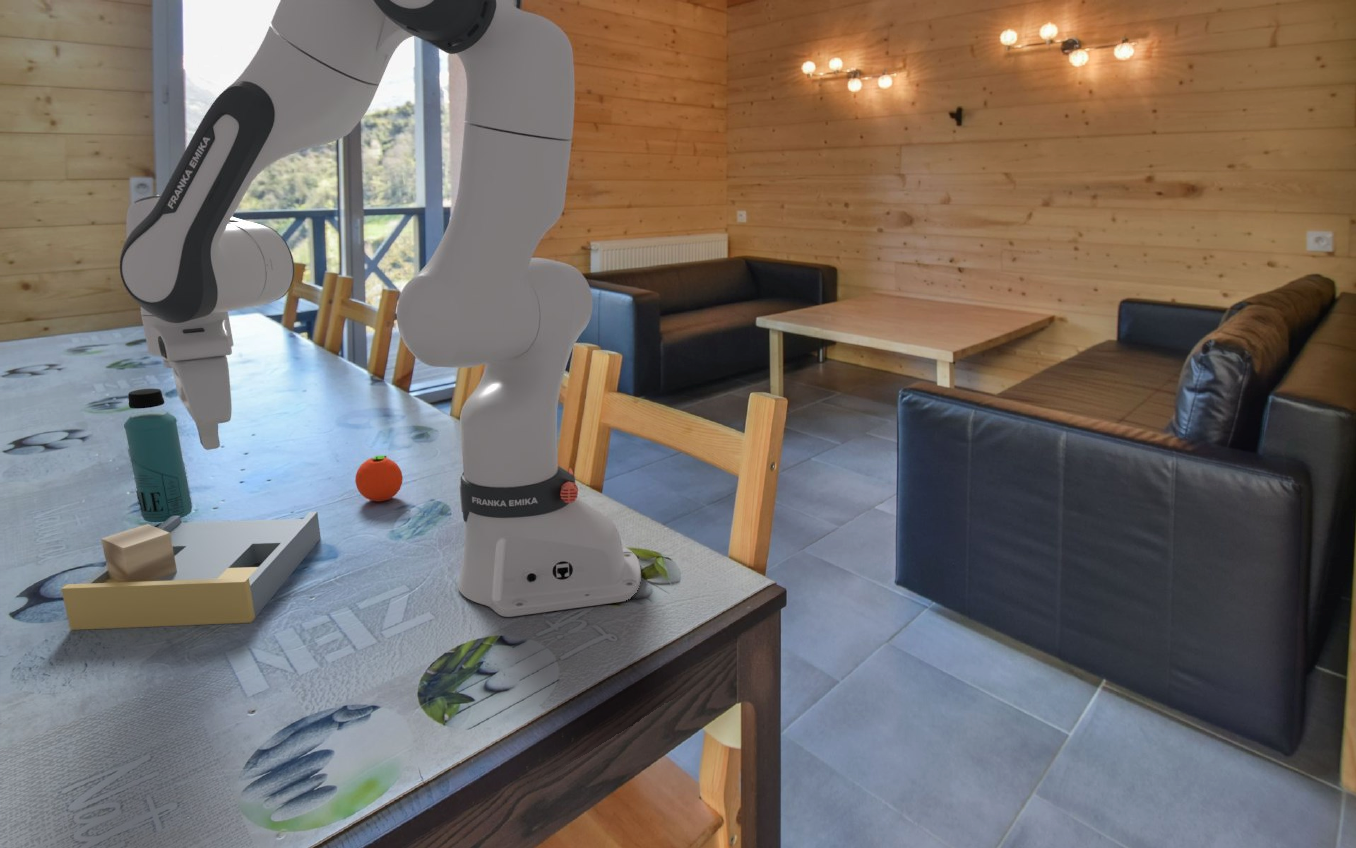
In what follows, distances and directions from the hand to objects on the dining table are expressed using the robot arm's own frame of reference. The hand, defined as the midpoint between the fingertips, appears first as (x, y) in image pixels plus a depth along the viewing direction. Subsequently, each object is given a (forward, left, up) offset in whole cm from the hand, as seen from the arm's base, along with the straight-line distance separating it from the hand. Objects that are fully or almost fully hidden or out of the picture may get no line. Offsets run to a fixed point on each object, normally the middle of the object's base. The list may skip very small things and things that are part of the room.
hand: (210, 446), depth 99 cm
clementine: (-13, -23, -16) cm, 31 cm away
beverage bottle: (+15, -15, -16) cm, 26 cm away
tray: (+1, +3, -16) cm, 16 cm away
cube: (+6, +9, -13) cm, 17 cm away
